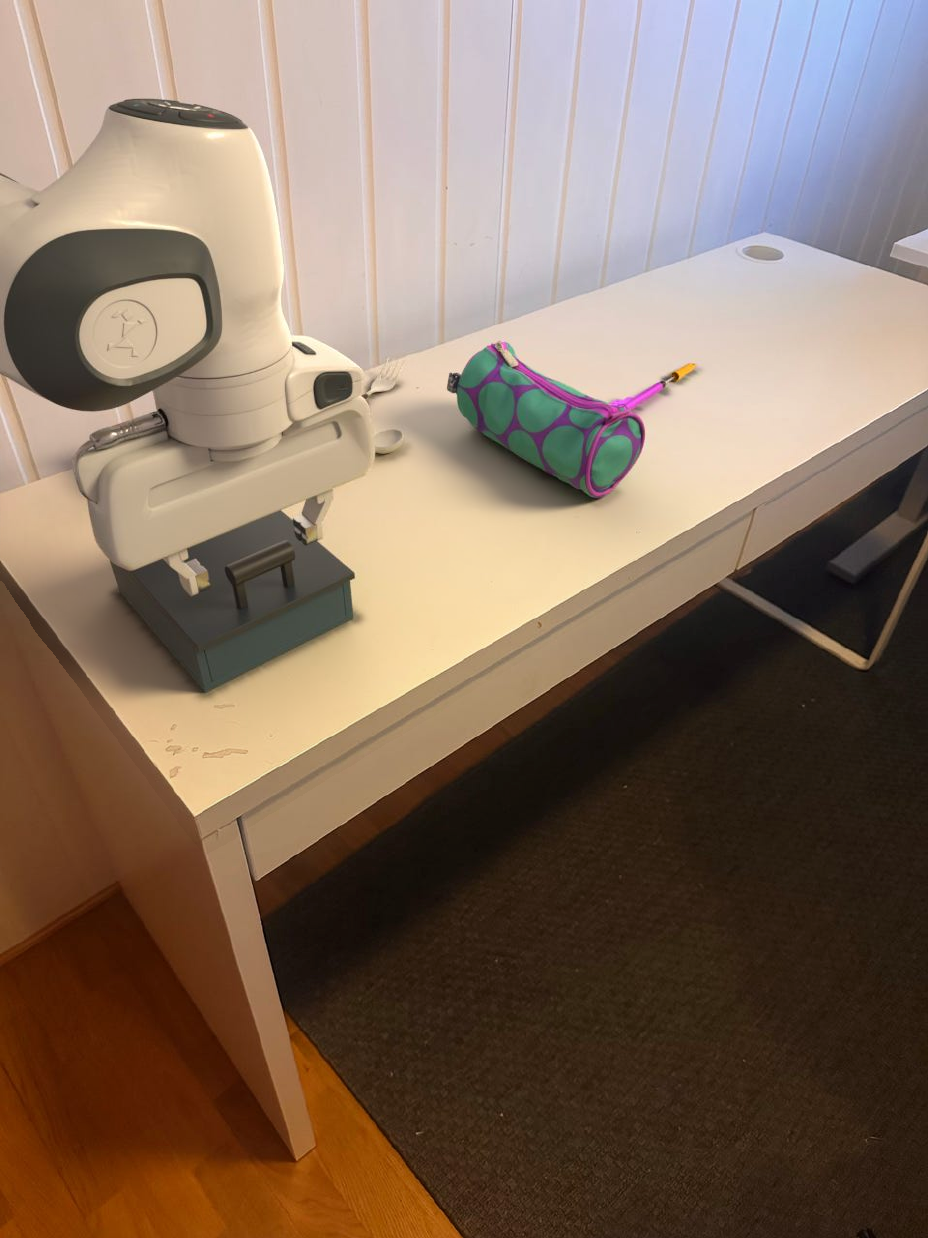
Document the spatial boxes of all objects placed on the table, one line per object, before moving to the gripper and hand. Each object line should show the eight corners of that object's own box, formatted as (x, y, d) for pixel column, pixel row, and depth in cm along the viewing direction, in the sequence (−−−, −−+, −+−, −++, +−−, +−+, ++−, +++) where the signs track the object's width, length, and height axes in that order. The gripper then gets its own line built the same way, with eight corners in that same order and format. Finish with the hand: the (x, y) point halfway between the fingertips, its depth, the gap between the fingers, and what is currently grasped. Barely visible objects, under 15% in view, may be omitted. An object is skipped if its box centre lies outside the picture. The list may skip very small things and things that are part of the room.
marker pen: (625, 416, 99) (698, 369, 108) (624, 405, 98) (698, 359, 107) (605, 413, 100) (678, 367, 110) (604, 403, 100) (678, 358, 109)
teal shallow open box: (353, 618, 73) (349, 573, 70) (205, 693, 67) (193, 647, 64) (258, 532, 82) (250, 489, 79) (119, 591, 76) (105, 546, 72)
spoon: (411, 446, 94) (409, 430, 92) (321, 497, 88) (318, 480, 86) (392, 436, 95) (390, 419, 94) (303, 485, 89) (299, 468, 88)
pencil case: (446, 430, 97) (445, 345, 90) (507, 405, 101) (511, 323, 94) (581, 517, 85) (592, 426, 78) (645, 485, 89) (660, 396, 82)
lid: (355, 578, 70) (351, 532, 67) (198, 653, 63) (186, 605, 60) (250, 489, 79) (243, 445, 76) (104, 546, 72) (90, 500, 70)
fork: (311, 431, 96) (309, 414, 95) (387, 372, 107) (387, 356, 105) (332, 437, 95) (330, 420, 94) (406, 377, 106) (406, 361, 105)
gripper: (87, 464, 50) (140, 646, 59) (384, 364, 60) (390, 532, 69) (43, 420, 53) (100, 598, 62) (330, 332, 63) (343, 496, 72)
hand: (254, 562), depth 66 cm, fingers open, 8 cm apart
